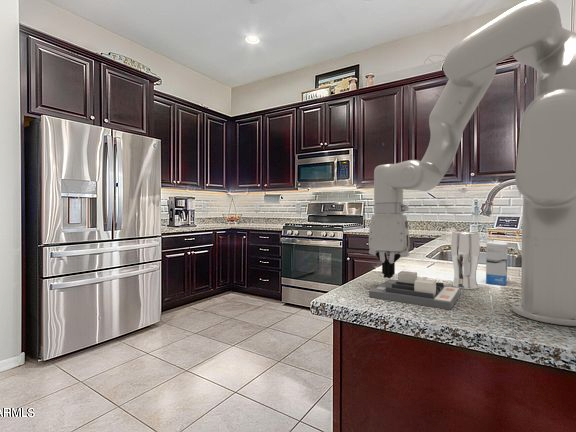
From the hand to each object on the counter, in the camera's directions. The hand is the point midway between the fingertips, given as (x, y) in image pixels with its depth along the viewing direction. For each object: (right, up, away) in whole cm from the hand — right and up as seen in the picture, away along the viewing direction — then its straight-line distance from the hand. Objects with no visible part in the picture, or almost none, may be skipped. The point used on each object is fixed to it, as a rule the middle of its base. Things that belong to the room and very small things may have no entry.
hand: (388, 276), depth 88 cm
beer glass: (+21, -3, +1) cm, 22 cm away
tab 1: (+4, -1, -3) cm, 5 cm away
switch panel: (+4, -3, -8) cm, 10 cm away
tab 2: (+5, -2, -13) cm, 14 cm away
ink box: (+34, -3, +7) cm, 35 cm away
